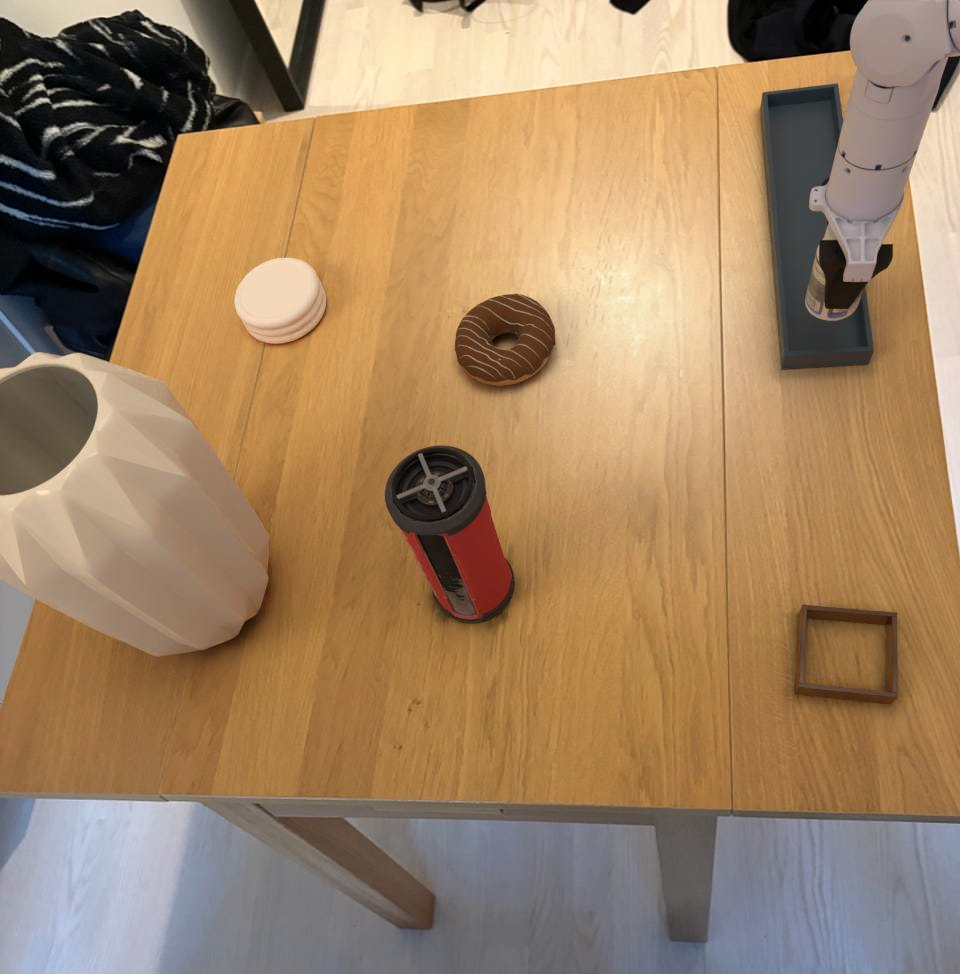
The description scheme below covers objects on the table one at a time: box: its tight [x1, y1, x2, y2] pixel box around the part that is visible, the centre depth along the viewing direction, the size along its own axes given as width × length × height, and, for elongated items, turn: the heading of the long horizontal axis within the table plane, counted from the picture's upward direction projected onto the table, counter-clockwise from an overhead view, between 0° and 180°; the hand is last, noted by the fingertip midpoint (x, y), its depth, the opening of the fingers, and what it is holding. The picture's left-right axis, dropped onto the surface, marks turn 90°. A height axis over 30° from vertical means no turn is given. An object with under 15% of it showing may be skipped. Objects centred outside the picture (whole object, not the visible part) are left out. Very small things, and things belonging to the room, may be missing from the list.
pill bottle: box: [805, 224, 864, 321], centre depth 73 cm, size 5×5×8 cm
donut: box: [454, 293, 557, 387], centre depth 85 cm, size 11×11×4 cm
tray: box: [759, 82, 875, 370], centre depth 85 cm, size 37×8×2 cm, turn 176°
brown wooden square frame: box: [794, 604, 899, 705], centre depth 68 cm, size 7×7×2 cm
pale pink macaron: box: [233, 257, 327, 345], centre depth 93 cm, size 10×10×4 cm
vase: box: [0, 351, 270, 658], centre depth 69 cm, size 20×20×27 cm
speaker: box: [384, 444, 516, 623], centre depth 69 cm, size 8×8×18 cm
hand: (837, 282), depth 74 cm, fingers closed on pill bottle, 5 cm apart
